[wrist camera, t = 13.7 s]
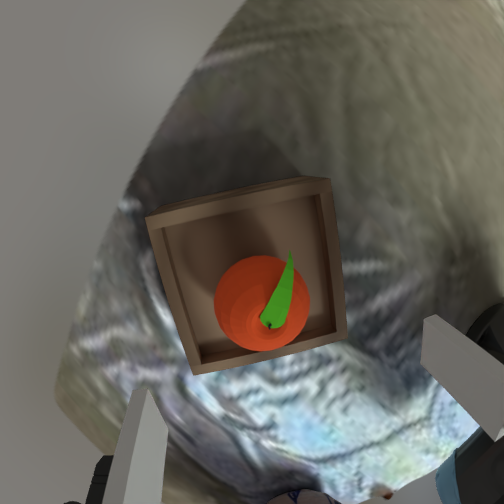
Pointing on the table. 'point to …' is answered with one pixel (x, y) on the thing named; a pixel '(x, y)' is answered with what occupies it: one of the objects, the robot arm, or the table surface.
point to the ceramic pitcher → (303, 498)
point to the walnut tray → (243, 246)
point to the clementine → (262, 302)
